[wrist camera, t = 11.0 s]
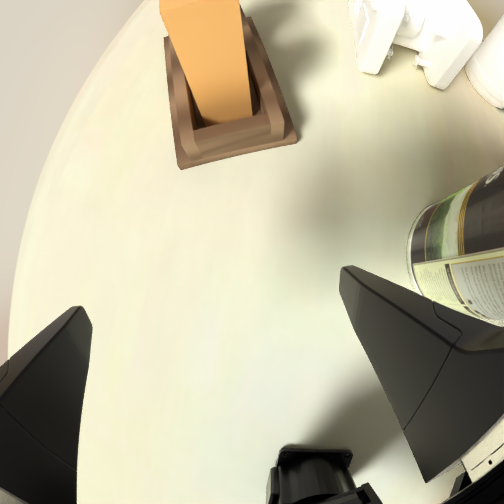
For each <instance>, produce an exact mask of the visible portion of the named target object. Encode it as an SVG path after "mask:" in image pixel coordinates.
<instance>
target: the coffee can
mask: <svg viewBox="0 0 504 504" xmlns="http://www.w3.org/2000/svg"><path fill="white" fill-rule="evenodd" d="M407 266H408V272H409V275H410V279H411V282H412V284H413V286H414V289H415V290H416V292H417V293H418V294H420V295H422V296H424V297H426V298H429V299H431V300H432V301H435V302H438V303H440V304H442V305H444V306H447V307H449V308H451V309H453V310H456V311H459V312H461V313H464V314H466V315H469V316H472V317H477V318H485V319H492V320H501V321H504V166H502V167H500V168H499V169H497V170H495V171H494V172H492V173H490V174H488V175H487V176H485V177H483V178H482V179H480V180H478V181H476V182H474V183H473V184H471V185H469V186H467V187H465V188H464V189H462V190H460V191H458V192H457V193H455V194H453V195H451V196H449V197H447V198H445V199H443V200H441V201H440V202H437V203H434V204H432V205H430V206H429V207H427V208H426V209H425V210H423V211H422V212H421V214H420V215H419V216H418V217H417V219H416V220H415V222H414V224H413V226H412V229H411V231H410V234H409V239H408V244H407Z"/></svg>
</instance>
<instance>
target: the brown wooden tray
mask: <svg viewBox="0 0 504 504" xmlns="http://www.w3.org/2000/svg"><path fill="white" fill-rule="evenodd" d="M239 5H240V4H239ZM240 13H241V21H242V29H243V37H244V46H245V54H246V63H247V71H248V80H249V89H250V98H251V107H252V117H247V118H242V119H238V120H233V121H229V122H225V123H221V124H217V125H213V126H209V127H206V126H205V123H204V121H203V118H202V116H201V113H200V111H199V108H198V106H197V103H196V101H195V98H194V96H193V93H192V91H191V88H190V86H189V83H188V81H187V79H186V76H185V74H184V71H183V69H182V66H181V64H180V61H179V59H178V56H177V54H176V51H175V49H174V46H173V44H172V41H171V39H170V37H169V36H167V37H164V48H165V61H166V72H167V83H168V93H169V102H170V111H171V120H172V128H173V136H174V143H175V150H176V158H177V165H178V167H179V168H180V169H181V170H183V169H187V168H190V167H194V166H198V165H202V164H205V163H209V162H213V161H217V160H221V159H225V158H229V157H233V156H238V155H242V154H247V153H251V152H256V151H260V150H265V149H270V148H275V147H280V146H285V145H290V144H296V142H297V136H296V133H295V130H294V127H293V124H292V121H291V118H290V115H289V112H288V110H287V107H286V104H285V101H284V98H283V96H282V93H281V90H280V87H279V85H278V82H277V79H276V77H275V74H274V72H273V69H272V67H271V64H270V61H269V59H268V56H267V54H266V51H265V49H264V47H263V44H262V42H261V39H260V37H259V35H258V32H257V30H256V28H255V25H254V23H253V21H252V19H251V17H248V18H246V17H245V15H244V13H243V10H242V8H241V6H240ZM168 35H169V34H168Z"/></svg>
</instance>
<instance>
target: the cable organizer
mask: <svg viewBox="0 0 504 504" xmlns="http://www.w3.org/2000/svg"><path fill="white" fill-rule="evenodd" d="M348 9H349V15H350V21H351V27H352V33H353V40H354V47H355V55H356V62H357V67H358V69H359V71H361V72H366V73H370V74H375V75H376V74H377V73H378V72H379V70H380V68H381V66H382V64H383V62H384V60H385V57H386V55H388V57H387V59H388V58H389V62H390V59H391V56H392V55H393V54H394V52H393V46H392V48H391V49H390V46H391V44H392V43H394V44H397V45H401V46H404V47H407V48H410V49H413V50H416V51H418V52H419V54H418V56H417V55H415V61H414V63H413V65H415V68H416V67H417V64H418V65H421V66H423V69H424V73H425V77H426V79H427V81H428V83H429V84H430V85H431V86H434V87H437V88H439V89H445V88H447V86H448V85H449V84H450V83H451V81H452V80H453V79H454V78H455V76H456V75H457V74H458V73H459V71H460V70H461V69H462V68H463V66H464V65H465V64H466V63H467V61H468V60H469V59H470V57H471V56H472V55H473V54H474V52H475V51H476V50H477V48H478V47H479V46H480V44H481V42H482V38H483V30H482V25H481V22H480V20H479V19H478V17H477V15H476V14H475V12H474V11H473V9H472V8H471V6H470V5H469V3H468V2H467V0H348ZM394 44H393V45H394ZM419 57H420V58H421V59H420V58H419Z"/></svg>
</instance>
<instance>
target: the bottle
mask: <svg viewBox="0 0 504 504" xmlns="http://www.w3.org/2000/svg"><path fill="white" fill-rule="evenodd" d="M465 71H466V74H467V77H468V79H469V81H470V82H471V84H472V86H473V87H474V88H475V90H476V91H477V92H478V93H479V94H480V95H481V96H482V97H483V98H484V99H485V100H486V101H487V102H489V103H490V104H491V105H493V106H495V107H498V108H500V109H502V108H504V14H503V16H502V17H501V18H500V20H499V21H498V23H497V24H496V25H495V27H494V28H493V29H492V31H491V32H490V33H489V35H488V36H487V38H486V39H485V40H484V41H483V43H482V44H481V45H480V47H479V48H478V49H477V50H476V51H475V52H474V54H473V55H472V56H471V57H470V59H469V61H468V62H467V63H466V65H465Z"/></svg>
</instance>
